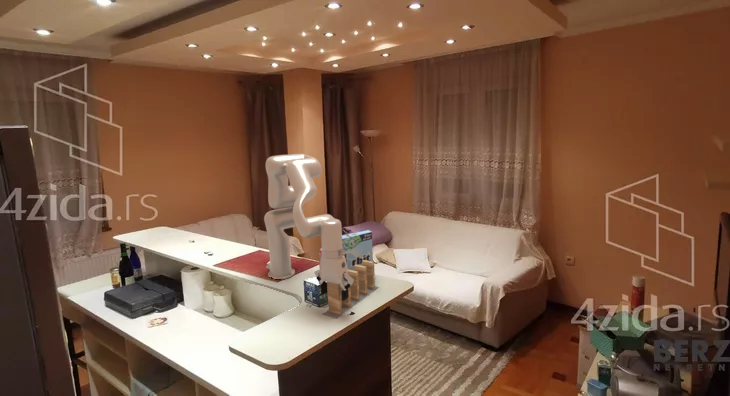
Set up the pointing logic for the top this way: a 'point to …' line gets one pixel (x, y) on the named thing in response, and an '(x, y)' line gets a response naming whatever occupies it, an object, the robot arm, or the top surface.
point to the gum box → (357, 247)
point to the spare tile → (334, 298)
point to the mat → (353, 303)
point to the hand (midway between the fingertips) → (334, 296)
